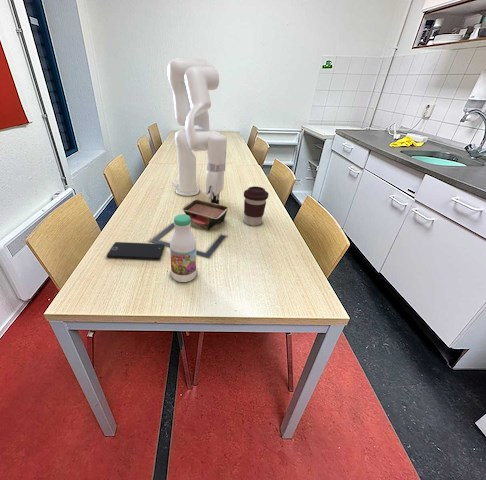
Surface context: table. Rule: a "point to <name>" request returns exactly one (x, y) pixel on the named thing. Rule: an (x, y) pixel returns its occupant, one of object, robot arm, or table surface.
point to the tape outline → (207, 254)
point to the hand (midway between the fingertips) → (214, 207)
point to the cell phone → (136, 250)
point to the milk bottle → (183, 250)
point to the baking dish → (205, 213)
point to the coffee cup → (254, 205)
